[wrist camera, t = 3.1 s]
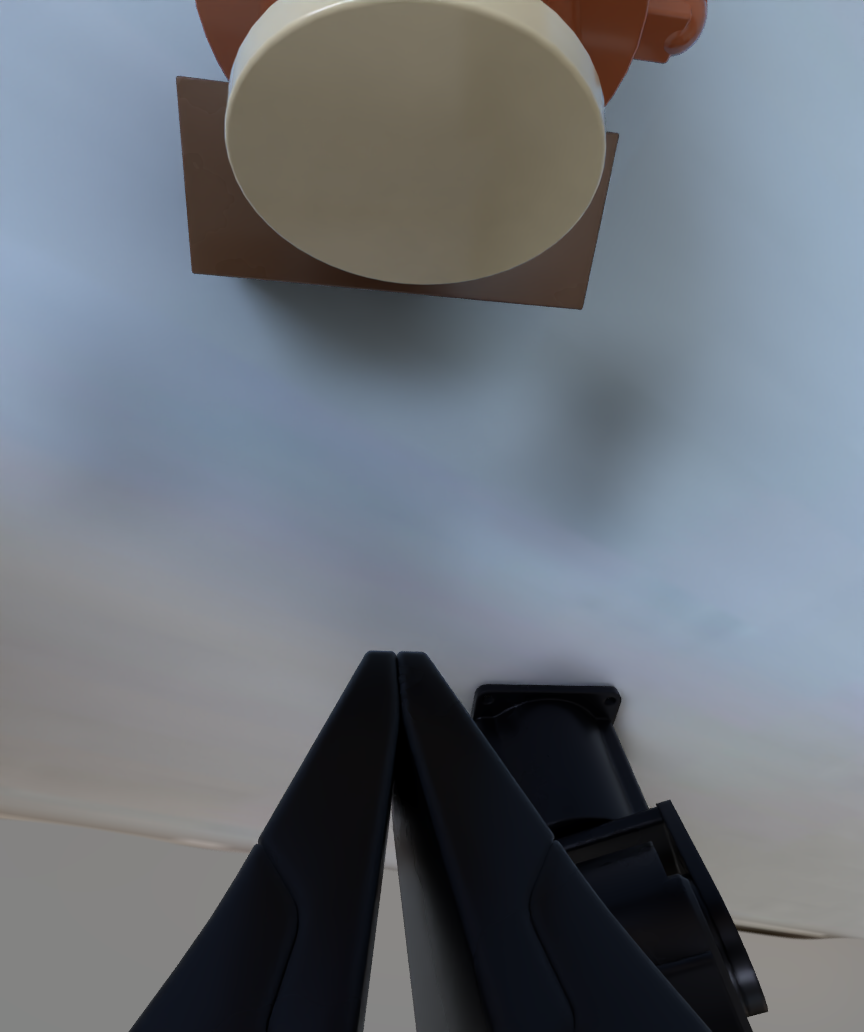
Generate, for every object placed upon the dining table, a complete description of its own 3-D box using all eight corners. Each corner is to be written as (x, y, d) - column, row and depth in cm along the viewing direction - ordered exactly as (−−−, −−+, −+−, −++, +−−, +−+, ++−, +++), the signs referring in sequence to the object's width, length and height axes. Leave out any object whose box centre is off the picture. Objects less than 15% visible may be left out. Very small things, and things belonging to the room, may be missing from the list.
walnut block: (582, 140, 17) (620, 132, 14) (554, 292, 19) (583, 310, 16) (209, 92, 16) (175, 74, 13) (218, 260, 17) (191, 273, 15)
